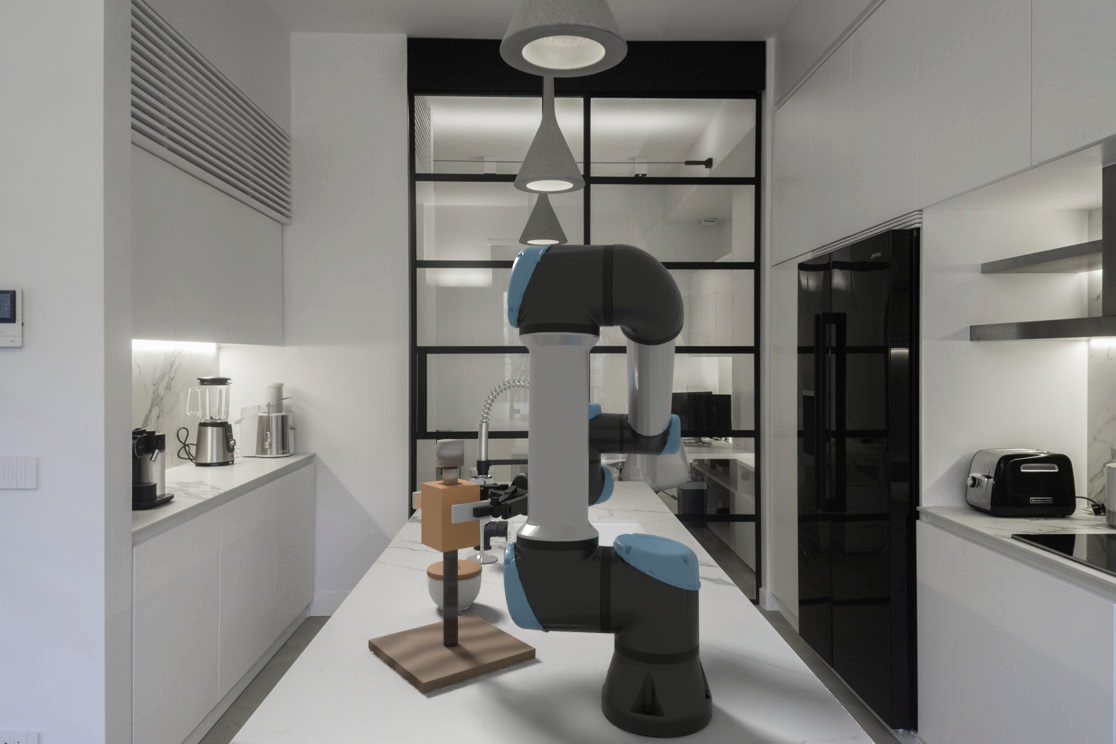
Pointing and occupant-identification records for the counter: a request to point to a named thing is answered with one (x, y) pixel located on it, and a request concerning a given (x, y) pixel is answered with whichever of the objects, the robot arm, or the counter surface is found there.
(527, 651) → the stand
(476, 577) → the lidded jar
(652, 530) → the counter surface
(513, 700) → the counter surface
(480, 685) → the counter surface
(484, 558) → the wineglass
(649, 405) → the robot arm
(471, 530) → the sleeve
